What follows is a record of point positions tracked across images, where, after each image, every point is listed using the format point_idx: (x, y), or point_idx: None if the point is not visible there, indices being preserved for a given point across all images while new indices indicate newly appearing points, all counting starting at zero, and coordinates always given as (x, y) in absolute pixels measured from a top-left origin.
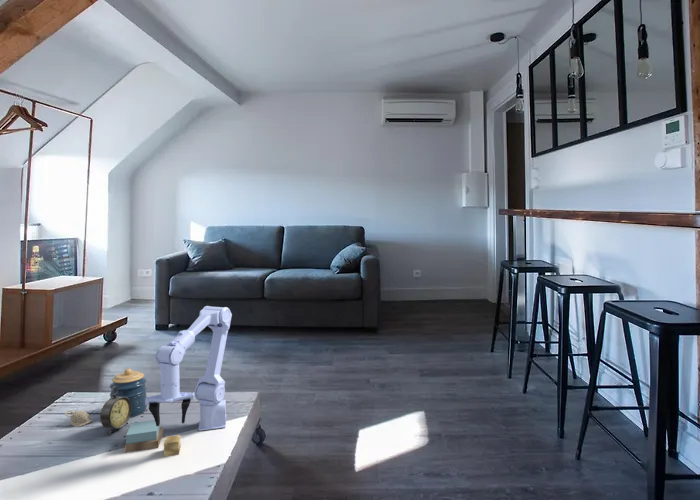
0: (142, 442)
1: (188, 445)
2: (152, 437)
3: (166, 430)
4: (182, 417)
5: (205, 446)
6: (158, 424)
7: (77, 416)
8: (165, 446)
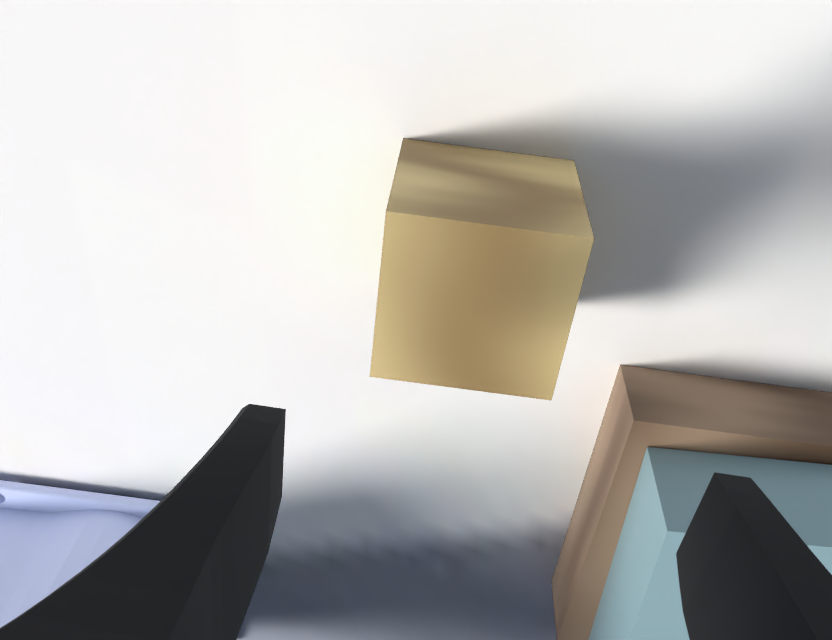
0: (804, 449)
1: (303, 294)
2: (699, 476)
3: (519, 617)
4: (231, 482)
5: (104, 196)
6: (727, 492)
7: None
8: (567, 215)
